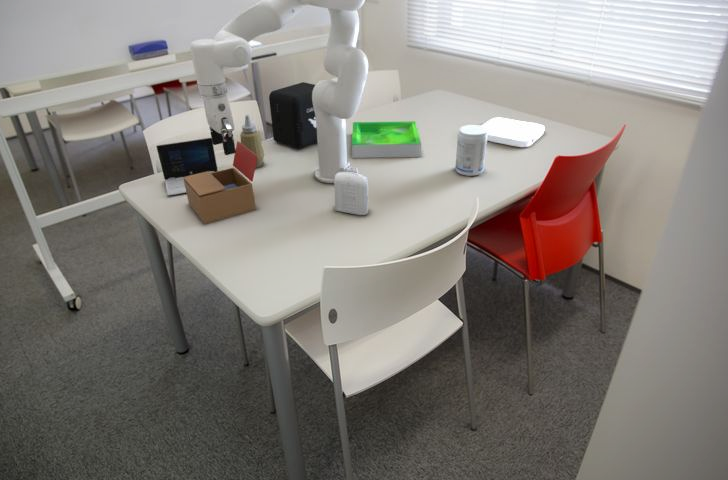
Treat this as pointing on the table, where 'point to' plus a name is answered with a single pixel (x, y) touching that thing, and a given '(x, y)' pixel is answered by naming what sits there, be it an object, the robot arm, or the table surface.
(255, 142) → the squeeze bottle
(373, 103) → the table surface
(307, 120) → the black box-shaped case
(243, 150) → the flap
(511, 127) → the computer
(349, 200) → the white upright block
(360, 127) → the tray
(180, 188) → the laptop
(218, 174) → the carton
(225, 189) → the block
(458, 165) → the supplement tub
